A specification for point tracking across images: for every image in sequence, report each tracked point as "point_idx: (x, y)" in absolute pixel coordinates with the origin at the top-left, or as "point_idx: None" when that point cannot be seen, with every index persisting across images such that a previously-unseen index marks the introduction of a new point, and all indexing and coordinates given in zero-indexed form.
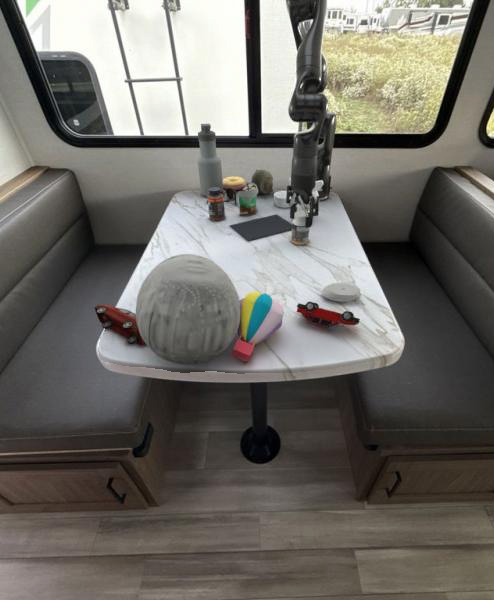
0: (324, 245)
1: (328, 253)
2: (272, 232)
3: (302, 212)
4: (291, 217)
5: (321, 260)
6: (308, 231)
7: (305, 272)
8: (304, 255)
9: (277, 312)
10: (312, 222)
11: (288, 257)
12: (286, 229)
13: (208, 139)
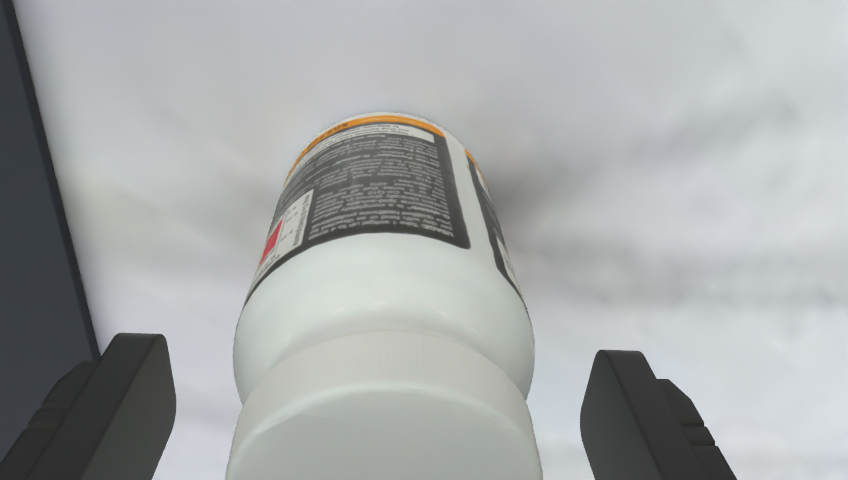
0: (656, 14)
1: (811, 116)
2: (56, 335)
3: (341, 472)
4: (169, 426)
5: (826, 266)
6: (502, 237)
7: (818, 453)
8: (643, 329)
9: None
10: (707, 429)
11: (569, 437)
12: (24, 164)
13: None
